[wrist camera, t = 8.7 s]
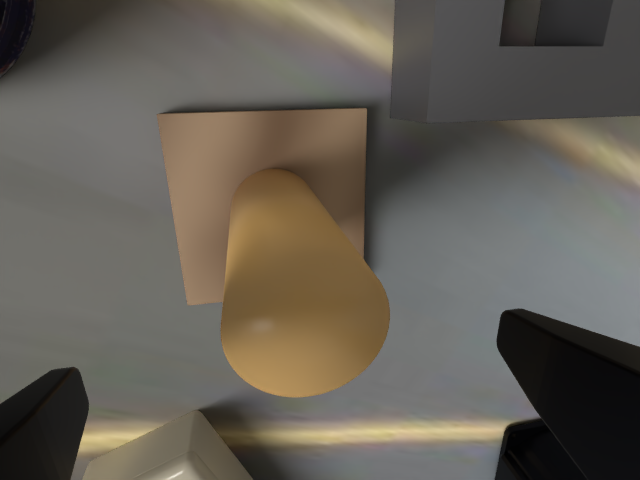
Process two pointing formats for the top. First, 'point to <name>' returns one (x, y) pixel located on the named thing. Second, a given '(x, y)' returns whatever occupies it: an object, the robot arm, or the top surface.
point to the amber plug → (296, 292)
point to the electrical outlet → (171, 455)
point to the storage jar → (14, 30)
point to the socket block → (514, 62)
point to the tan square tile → (248, 158)
